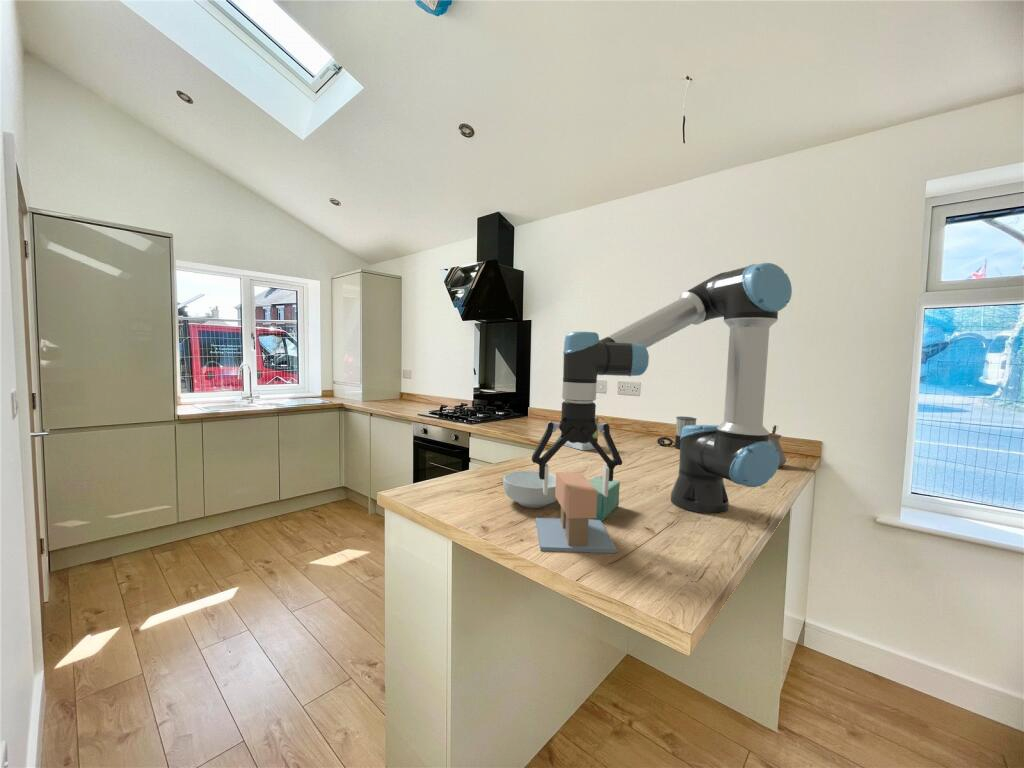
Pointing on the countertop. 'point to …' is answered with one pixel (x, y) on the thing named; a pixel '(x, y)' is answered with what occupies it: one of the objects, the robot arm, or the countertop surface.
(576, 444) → the tea box
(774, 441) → the coffee pot
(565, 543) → the base
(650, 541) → the countertop surface
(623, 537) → the countertop surface
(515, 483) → the cereal bowl
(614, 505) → the box
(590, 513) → the beam
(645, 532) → the countertop surface
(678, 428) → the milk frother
